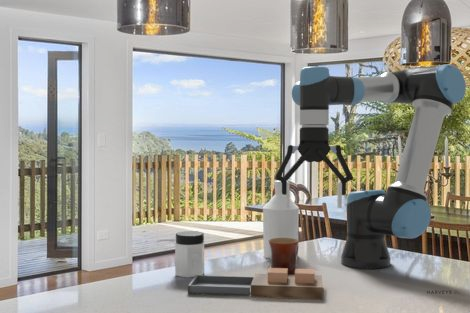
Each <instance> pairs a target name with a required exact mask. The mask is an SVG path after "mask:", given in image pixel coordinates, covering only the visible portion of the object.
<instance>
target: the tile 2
mask: <svg viewBox="0 0 470 313" xmlns="http://www.w3.org/2000/svg"><path fill="white" fill-rule="evenodd" d="M315 274H316V273H315V269H314V268H297V269H295V283H315Z"/></svg>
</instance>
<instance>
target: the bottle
mask: <svg viewBox="0 0 470 313" xmlns="http://www.w3.org/2000/svg"><path fill="white" fill-rule="evenodd" d="M287 182H289V180H287ZM273 185H274V195H273V196H272V197H271V198H270V199H269V201H268V202H266V203H265V205H263V207H262V225H263V226H262V227H263V230H262V232H263V233H262V234H263V236H262V237H263V257H264V258H267V259H269V258H270V260H271V248H270V244H269V240H270V239H273V238H293V239H297V240H299V219H300V218H299V215H300V213H299V212H300V211H299V210H300V208H299V206H298V205H297V204H296V203H295V202H294V201H293V200H292V199H291V198H290V197H289V208H286V195H283V194H282V182H281V181H278V180H273ZM298 255H299V253H298V254H297V258H298V257H299V256H298Z"/></svg>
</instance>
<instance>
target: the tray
mask: <svg viewBox="0 0 470 313" xmlns="http://www.w3.org/2000/svg"><path fill="white" fill-rule="evenodd" d="M192 278H193V279H192V280H191V281H190V282H189V284H188V285H187V295H201V296H202V295H210V296H234V297H235V296H237V297H251V283H252V281H253V278H254V276H239V275H238V276H236V275H212V274H211V275H210V274H209V275H205V274H204V275H196V276H195V277H192Z"/></svg>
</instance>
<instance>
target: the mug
mask: <svg viewBox="0 0 470 313" xmlns="http://www.w3.org/2000/svg"><path fill="white" fill-rule="evenodd" d="M299 242H300V240H299V239H298V240H297V239H293V238H273V239H270V240H269V244H270V248H271V259H270V268H288V274H289V275H295V269H298V267H297V264H298V263H297V262H298V261H297V258H298V257H297V254H298V255H299V244H300V243H299ZM296 257H297V258H296Z"/></svg>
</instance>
